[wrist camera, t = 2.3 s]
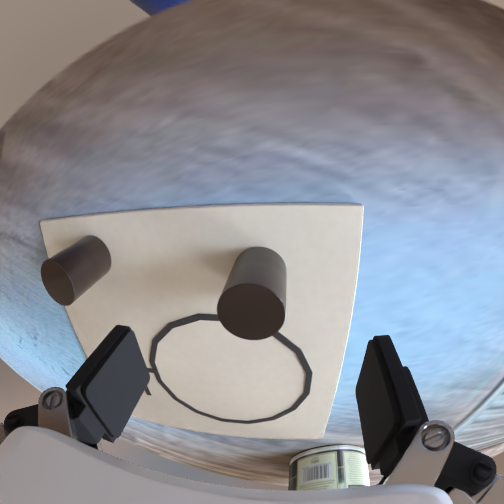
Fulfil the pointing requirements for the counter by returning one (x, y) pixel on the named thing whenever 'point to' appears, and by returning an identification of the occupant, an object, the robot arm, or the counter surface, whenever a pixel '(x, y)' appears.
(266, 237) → the board
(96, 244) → the dot
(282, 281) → the dot
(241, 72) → the counter surface
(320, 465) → the coffee can
